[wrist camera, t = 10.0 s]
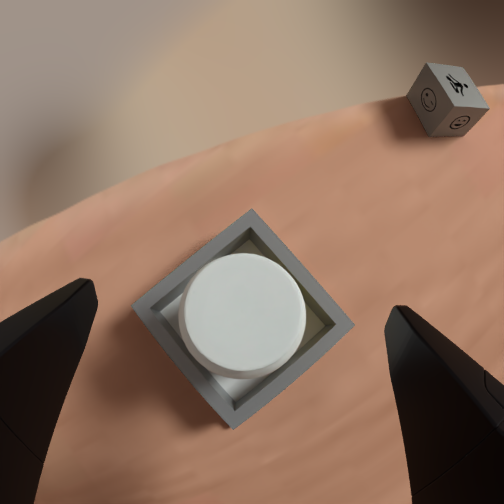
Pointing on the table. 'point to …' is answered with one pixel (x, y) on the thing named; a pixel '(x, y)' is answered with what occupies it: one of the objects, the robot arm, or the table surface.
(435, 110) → the dice cube
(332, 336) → the tray
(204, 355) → the supplement bottle
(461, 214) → the table surface
